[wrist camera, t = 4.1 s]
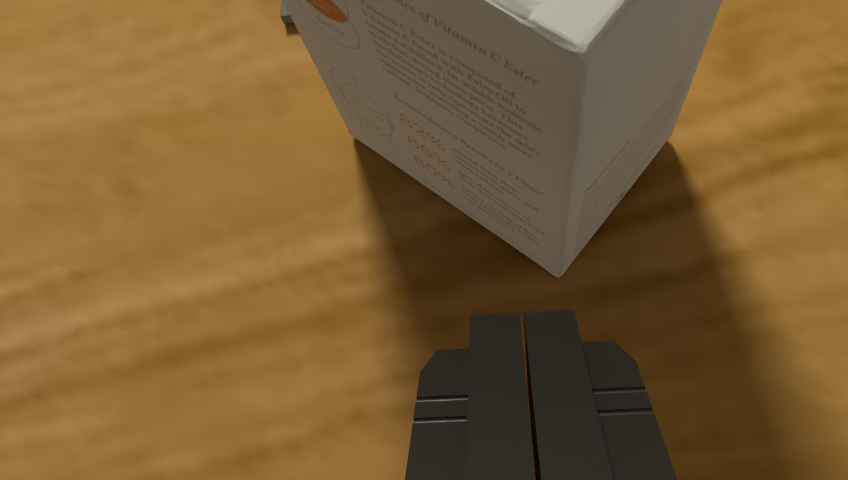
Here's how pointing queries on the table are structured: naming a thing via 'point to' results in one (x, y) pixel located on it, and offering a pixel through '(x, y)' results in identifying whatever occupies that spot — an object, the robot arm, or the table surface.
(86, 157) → the table surface
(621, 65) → the small box
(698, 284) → the table surface
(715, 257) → the table surface
